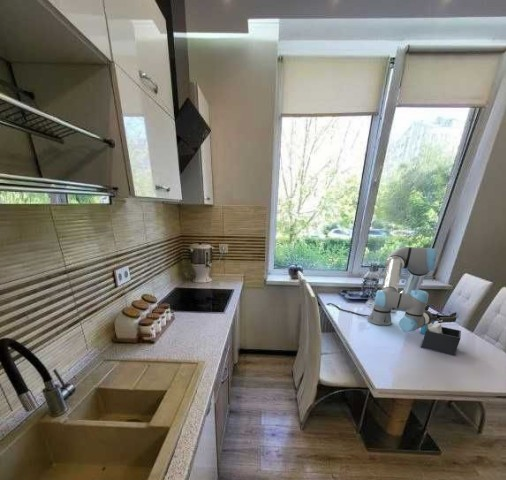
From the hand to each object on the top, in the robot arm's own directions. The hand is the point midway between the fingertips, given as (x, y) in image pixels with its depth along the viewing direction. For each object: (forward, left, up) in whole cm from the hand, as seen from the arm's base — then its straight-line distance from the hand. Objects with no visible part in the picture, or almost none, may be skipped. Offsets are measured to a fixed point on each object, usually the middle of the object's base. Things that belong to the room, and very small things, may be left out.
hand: (441, 311), depth 149 cm
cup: (-4, +28, -25) cm, 37 cm away
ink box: (+4, +9, -23) cm, 25 cm away
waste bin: (+4, +9, -24) cm, 26 cm away
